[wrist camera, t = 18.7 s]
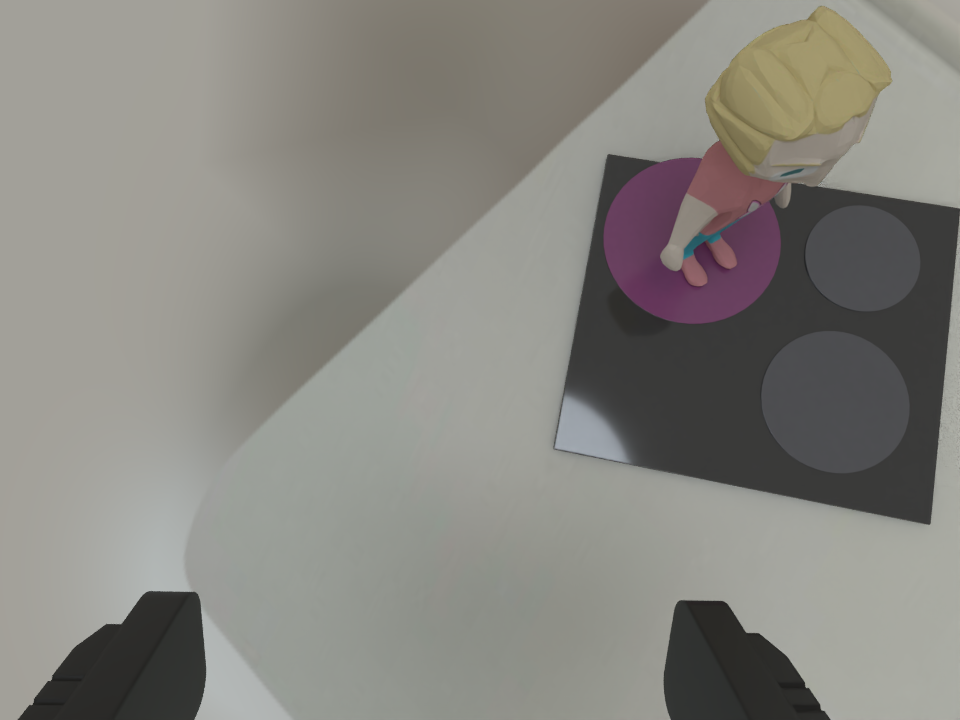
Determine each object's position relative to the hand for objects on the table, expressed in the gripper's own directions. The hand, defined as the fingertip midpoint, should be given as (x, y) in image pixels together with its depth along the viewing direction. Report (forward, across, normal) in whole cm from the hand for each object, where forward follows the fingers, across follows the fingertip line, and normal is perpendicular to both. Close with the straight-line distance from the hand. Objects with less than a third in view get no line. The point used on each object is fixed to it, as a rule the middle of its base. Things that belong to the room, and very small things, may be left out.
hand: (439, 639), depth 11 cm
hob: (+22, -16, 0) cm, 27 cm away
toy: (+24, -13, -4) cm, 28 cm away
